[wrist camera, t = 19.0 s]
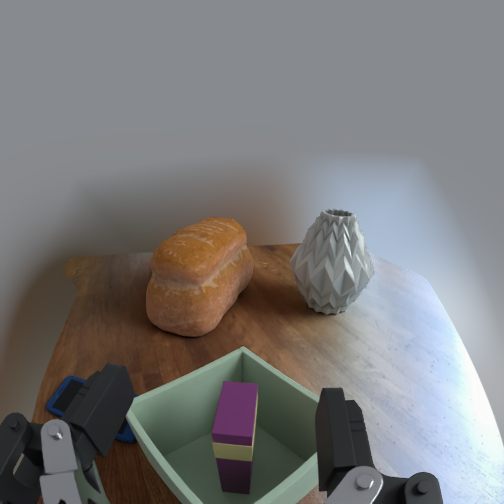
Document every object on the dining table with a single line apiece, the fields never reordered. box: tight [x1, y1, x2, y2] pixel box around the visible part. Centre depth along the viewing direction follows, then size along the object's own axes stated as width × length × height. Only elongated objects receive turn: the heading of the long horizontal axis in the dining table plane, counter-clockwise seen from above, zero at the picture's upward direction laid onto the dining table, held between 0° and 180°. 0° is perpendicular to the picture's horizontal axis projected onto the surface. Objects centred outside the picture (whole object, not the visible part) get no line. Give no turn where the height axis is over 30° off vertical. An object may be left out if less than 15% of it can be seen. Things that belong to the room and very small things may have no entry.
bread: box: [146, 217, 253, 337], centre depth 53 cm, size 14×26×15 cm, turn 162°
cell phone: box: [46, 376, 140, 443], centre depth 28 cm, size 7×14×1 cm, turn 85°
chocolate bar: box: [212, 381, 258, 494], centre depth 20 cm, size 5×3×12 cm, turn 175°
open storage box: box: [126, 346, 320, 504], centre depth 20 cm, size 13×13×11 cm
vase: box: [289, 209, 375, 315], centre depth 52 cm, size 16×16×18 cm
